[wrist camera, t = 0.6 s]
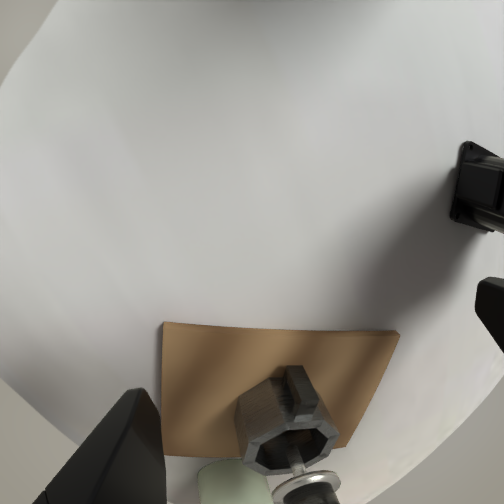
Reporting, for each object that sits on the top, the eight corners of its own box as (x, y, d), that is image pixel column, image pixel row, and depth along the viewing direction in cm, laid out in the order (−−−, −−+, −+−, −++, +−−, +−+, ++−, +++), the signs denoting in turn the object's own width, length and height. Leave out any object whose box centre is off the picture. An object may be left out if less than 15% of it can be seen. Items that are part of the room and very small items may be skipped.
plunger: (329, 426, 19) (367, 505, 13) (310, 462, 21) (339, 533, 14) (267, 431, 18) (295, 521, 12) (255, 467, 20) (275, 545, 13)
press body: (332, 358, 23) (358, 398, 19) (304, 430, 25) (320, 469, 21) (246, 358, 21) (259, 405, 17) (230, 433, 24) (238, 477, 20)
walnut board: (395, 330, 24) (400, 335, 24) (342, 441, 28) (345, 446, 28) (163, 321, 20) (163, 328, 20) (162, 448, 24) (161, 455, 24)
